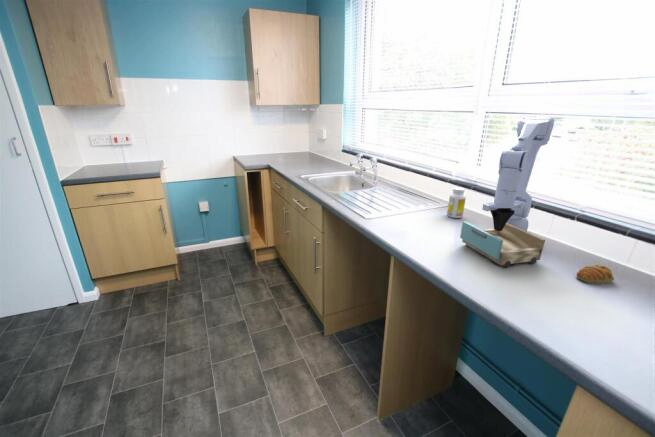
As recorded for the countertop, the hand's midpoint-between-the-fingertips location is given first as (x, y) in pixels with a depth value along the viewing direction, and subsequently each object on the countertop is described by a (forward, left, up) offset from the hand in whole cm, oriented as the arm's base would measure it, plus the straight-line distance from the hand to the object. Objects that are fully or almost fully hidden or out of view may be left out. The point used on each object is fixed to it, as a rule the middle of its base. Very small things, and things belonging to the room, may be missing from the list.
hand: (497, 230), depth 102 cm
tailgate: (+6, 0, -6) cm, 8 cm away
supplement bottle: (-12, -37, -9) cm, 40 cm away
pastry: (-17, +20, -9) cm, 28 cm away
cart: (-2, 0, -9) cm, 9 cm away
